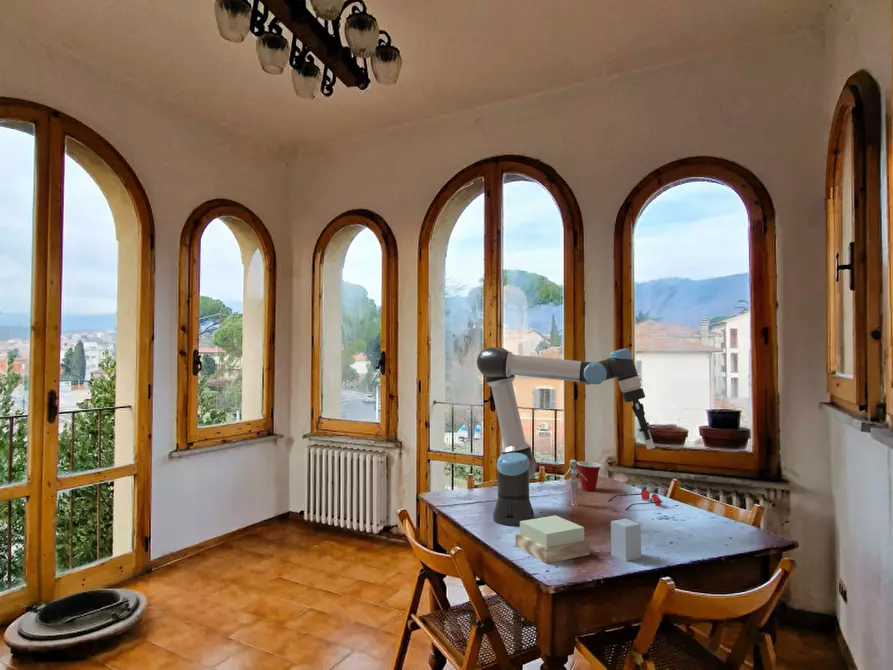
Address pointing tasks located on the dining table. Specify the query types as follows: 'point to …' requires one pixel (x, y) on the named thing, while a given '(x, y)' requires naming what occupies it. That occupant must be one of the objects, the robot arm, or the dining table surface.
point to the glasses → (644, 498)
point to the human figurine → (573, 480)
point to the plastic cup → (588, 474)
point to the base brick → (552, 549)
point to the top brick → (551, 531)
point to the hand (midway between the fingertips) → (650, 446)
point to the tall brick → (626, 539)
